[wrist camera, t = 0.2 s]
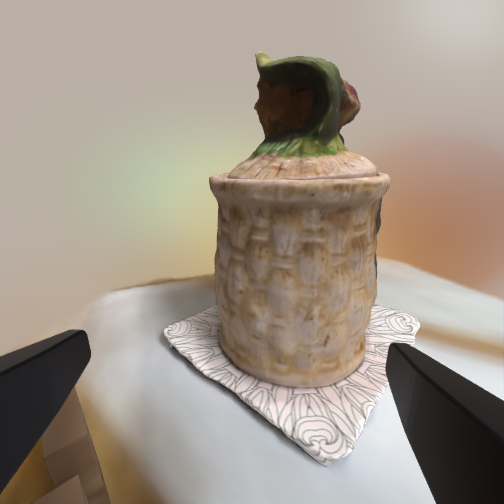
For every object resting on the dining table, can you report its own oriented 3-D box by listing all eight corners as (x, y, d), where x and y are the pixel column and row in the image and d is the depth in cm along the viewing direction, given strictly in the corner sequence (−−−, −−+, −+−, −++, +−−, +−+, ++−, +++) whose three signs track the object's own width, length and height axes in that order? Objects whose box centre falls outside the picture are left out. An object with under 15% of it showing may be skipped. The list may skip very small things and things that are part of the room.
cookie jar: (340, 492, 19) (404, -174, 9) (158, 346, 35) (104, 51, 25) (424, 329, 36) (479, 39, 26) (276, 281, 52) (273, 90, 42)
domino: (98, 462, 21) (73, 382, 19) (116, 523, 18) (87, 434, 15) (69, 481, 20) (37, 398, 18) (81, 550, 17) (43, 458, 14)
